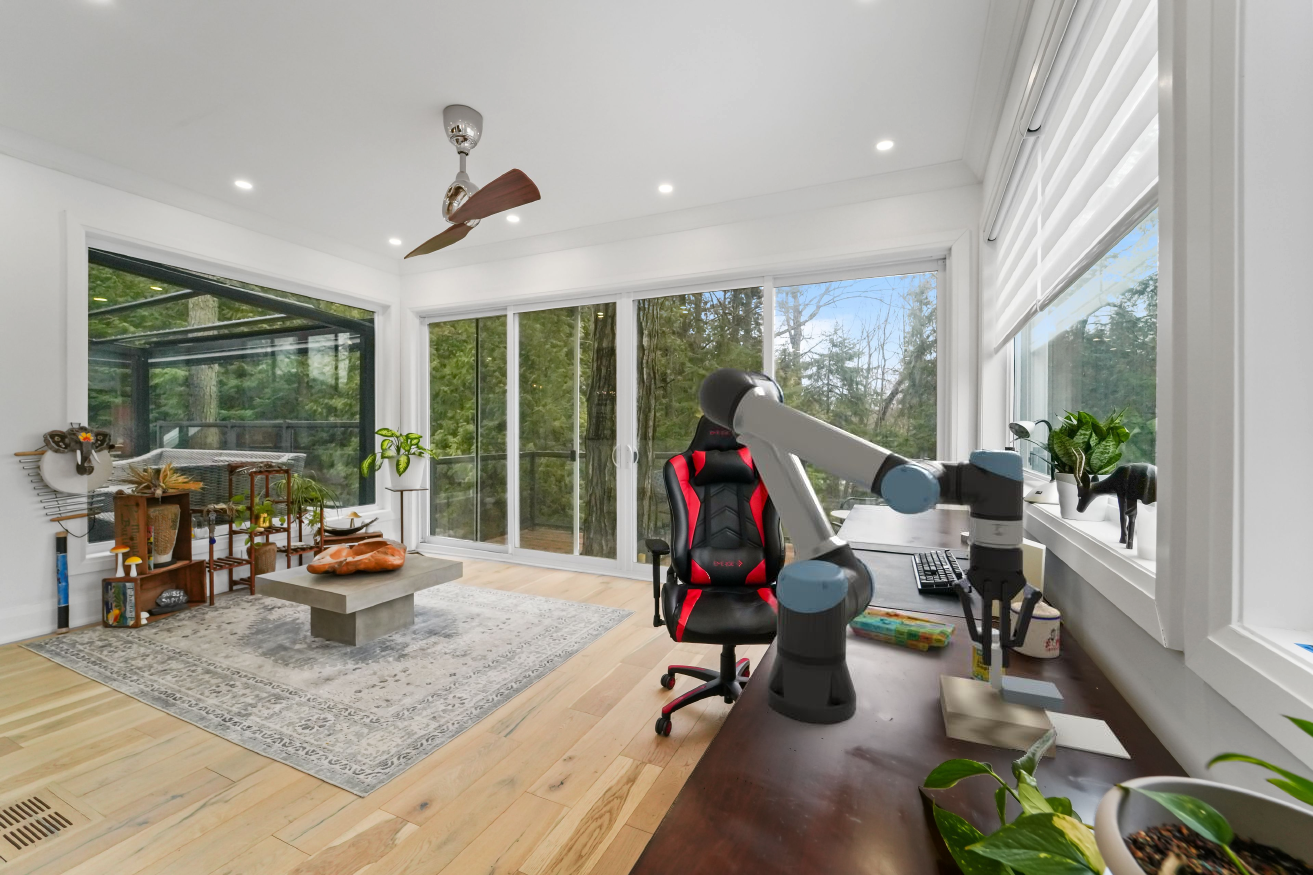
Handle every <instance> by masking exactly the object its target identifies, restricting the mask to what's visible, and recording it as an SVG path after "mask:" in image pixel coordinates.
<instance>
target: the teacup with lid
mask: <svg viewBox="0 0 1313 875" xmlns="http://www.w3.org/2000/svg"><path fill="white" fill-rule="evenodd" d="M1022 602H1023V601H1021V602H1020V601H1019V602H1014V603H1011V609H1010V637H1012V635H1013V632H1014V628H1015V625H1016V622H1017V618H1018V615H1019V612H1020V608H1021V605H1022ZM1061 618H1062V615H1061V612H1060V611H1059V610H1058V609H1057V608H1054V607H1052V606H1049V605H1048V604H1046V603H1045V602H1043V601H1042V598H1041V599H1040V600H1039V601H1038V603H1037V604H1036V605H1035V608H1034V611H1033V614H1032V618H1031V621H1030V624H1029V627H1028V631H1027V634H1026V637H1025V641H1024V644H1023V646H1022V647H1020V648H1019V647H1014V648H1012V649H1013V650H1014V651H1016V652H1017V653H1021V654H1023V655H1025V656H1030V657H1034V658H1040V659H1053V658H1057V657H1058V656H1059V655H1060V619H1061Z"/></svg>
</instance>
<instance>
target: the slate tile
mask: <svg viewBox="0 0 1313 875" xmlns="http://www.w3.org/2000/svg"><path fill="white" fill-rule="evenodd" d="M999 692H1000V694H1001V697H1002V699H1003V702H1009V703H1015V704H1020V705H1026V706H1032V707H1038V708H1044V710H1048V711H1049V710H1051V711H1055V712H1056V711H1057V712H1060V713H1061V712H1063V713H1064V711H1065V709H1064V708H1065V705H1064V704H1065V699H1064V697H1063V695H1062V694H1061V692H1060V691H1059V689H1058V688H1057V686H1056V685H1055V683H1054V682H1051V681H1050V682H1049V681H1045V680H1043V681H1042V680H1038V679H1037V680H1036V679H1031V678H1023V677H1020V676H1019V677H1018V676H1013V675H1012V676H1011V675H1006V674H1005V675H1002V690H999Z"/></svg>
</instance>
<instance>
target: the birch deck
mask: <svg viewBox="0 0 1313 875" xmlns="http://www.w3.org/2000/svg"><path fill="white" fill-rule="evenodd" d="M939 699H940V705H941V711H942V716H943V722H944V727H945V733H946V738H950V739H951V738H953V739H956V740H957V739H958V740H963V741H967V742H971V743H978V744H983V745H987V746H993V747H996V748H997V747H998V748H1003V749H1008V750H1012V749H1021V750H1025V752H1024V753H1027V751H1028V750H1029V749H1030V748H1031V747H1032V746H1033V745H1034V744H1035V743H1036V742H1037V741H1038V740H1039V739H1041V738H1042V737H1043V735H1045V734H1046V733H1047V732H1048V731H1049V730H1051V729H1054V730H1055V728H1054V727H1053V725H1052V723H1051V721H1050V719H1049V717H1048V716H1047V714H1046V712H1045V711H1046V709H1044V708H1038V707H1032V706H1026V705H1020V704H1015V703H1009V702H1003V699H1002V697H1001V694H1000V692H999V689H993V688H991V685H990V683H989V682H984V681H977V680H975V679H970V678H964V677H958V676H957V677H956V676H951V675H945V674H939ZM1055 732H1056V730H1055ZM1056 746H1057V745H1056V739H1055V741H1054V742H1053V744H1052V745H1051V746H1050V747H1049V748H1048V749H1047V750H1046V752H1045V753H1044V755H1043V757H1047V758H1052V759H1053V758H1054V759H1056Z"/></svg>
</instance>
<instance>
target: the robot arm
mask: <svg viewBox="0 0 1313 875" xmlns="http://www.w3.org/2000/svg"><path fill="white" fill-rule="evenodd" d="M698 404H699V408H700V409H701V411H702V412H701V413H703V415H704V416H705V418H707V419H708V420H709V421H710V422H713V423H714V424H717V425H718V426H721V427H723V428H724V429H725V428H726V429H727V430H730V431H731V432H732V434H733V436H734V438H735V441H736V442H737V443H738V444H741V445H744V446H745V447H747V450H748V452H749V454H750V457H751V458H752V460H753V463H754V465H755V467H756V469H757V471H758V473H759V475H760V478H761V480H762V482H763V485H764V487H765V489H766V490H767V493H768V495H769V497H770V499H771V501H772V504H773V506H774V508H775V511H776V513H777V514H778V517H779V518H780V522H781V524H782V525H783V528H784V530H785V531H786V534H787V536H788V539H789V540H790V543H791V546H792V547H793V549H794V552H795V554H794V555H795V556H794V559H793V561H792V562H791V563H789V564H787V565H785V566H783V567H782V568H781V570H780V571H779V573H778V576H777V585H776V589H775V591H776V592H775V593H776V654H775V657H774V661H773V663H772V666H771V669H770V672H769V675H768V678H767V681H766V687H765V688H766V689H765V690H766V694H765V696H766V697H765V698H766V701H767V702H768V705H770V706H771V707H772V708H773V709H774V710H776V711H777V712H779V713H780V714H782V715H784V716H786V717H789V718H792V719H795V720H798V721H803V722H807V723H815V724H830V723H831V724H832V723H839V722H842V721H845V720H848V719H849V718H851V717H852V716H854V714H855V713H856V711H857V693H856V688H855V686H854V682H853V679H852V677H851V673H850V671H849V670H850V669H849V666H848V664H847V626H849V623H851V622H852V621H853V620H854V619H855V618H856V617H858V616H860V615H861V614H862V613H863V612H864V611H865V610H866V609H867V608H868V607H870V604H871V602H872V601H873V598H874V597H875V590H876V586H875V584H876V583H875V578H874V576H873V572H872V571H871V568H870V567H869V566H868V564H867V563H865V561H863V560H862V559H861V558H859V557H858V556H856V555H855V553H854V552H853V550H852V547H851V546H850V543H849V541H847V540H845V539H843V538H840V537H839V536H837V534H836V532H835V531H834V528H833V526H832V524H831V523H830V520H829V518H828V516H827V514H826V511H825V510H824V508H823V506H822V503H821V501H820V499H819V497H818V494H816V491H815V490H814V487H813V485H812V483H811V481H810V479H809V476H808V474H807V473H806V471H805V469H804V466H803V464H802V462H801V460H803V461H805V462H807V463H810V464H811V465H814V466H815V467H817V468H819V469H821V470H823V471H824V472H825V471H826V472H827V473H830V474H832V475H834V476H836V477H838V478H839V479H842V480H843V481H846V482H848V483H850V484H852V485H854V486H856V487H858V488H861V489H862V490H864V491H866V492H869V493H871V494H873V495H875V496H876V497H878V498H880V499H882V500H883V501H884V502H885V504H886V505H887V506H888V507H889V508H890V509H891V510H893V511H895V512H896V513H899V514H901V515H902V514H903V515H918V514H922V513H925V512H928V511H929V510H931V509H932V508H933V507H934V506H936V505H948V506H949V505H952V506H954V505H955V506H960V507H961V506H962V507H963V506H969V510H970V511H969V538H970V540H971V541H972V542H971V543H970V544H969V568H968V570H967V572H966V574H965V575H966V576H964V577H963V578H961V579H959V580H957V579H955V580H952V582H951V585H952V587H953V590H954V591H955V592H956V594H957V595H958V597H959V600H960V603H961V608H962V611H963V614H964V618H965V622H966V628H967V630H968V634H969V636H970V639H971V641H972V642H973V641H974V642H978V643H980V644H981V645H982V661H983V663H984V665H985V666H989V683H990V685H991V688H993V689H999V690H1002V668H1005V669H1006V670H1007V669H1009V668H1010V666H1011V665H1010V660H1011V659H1010V658H1011V657H1010V651H1011V650H1012V649H1013V648H1014V647H1019V648H1020V647H1022V646H1023V644H1024V641H1025V637H1026V634H1027V631H1028V627H1029V624H1030V621H1031V618H1032V614H1033V611H1034V608H1035V605H1036V604H1037V603H1038V601H1039V600H1040V599H1041V600H1042V598H1043V597H1044V596H1043V595H1044V594H1043V592H1042V591H1041V590H1040V589H1039V588H1038V587H1036V586H1032V585H1031V584H1030V583H1028V580H1027V578H1026V577H1025V575H1024V550H1023V548H1022V547H1021V546H1020V545H1021V544H1023V543H1024V525H1023V524H1024V520H1023V519H1024V482H1025V481H1024V469H1023V468H1024V467H1023V457H1022V455H1021V454H1020V453H1019V452H1017V451H1014V450H999V449H997V450H994V449H993V450H991V449H990V450H985V449H980V450H977V449H976V450H972V451H971V452H970V453H969V458H968V461H967V460H965V461H945V460H942V461H941V460H923V459H909V458H907V457H905V456H902V455H899V454H897V453H895V452H893V451H891V450H889V449H886V448H884V447H882V446H880V445H878V444H875V443H872V442H870V441H869V440H866V439H864V438H861V437H859V436H857V435H854V434H852V433H850V432H847V431H846V430H843V429H841V428H839V427H837V426H834V425H833V424H830V423H828V422H825V421H823V420H820V419H818V418H816V417H814V416H811V414H810V415H809V414H807V413H805V412H803V411H800V410H798V409H796V408H793V407H791V406H790V405H787V404H785V397H784V393H783V390H782V388H781V387H780V385H779V383H778V382H777V381H776V380H775V379H774V378H772V377H771V376H768V375H767V374H765V373H763V372H760V371H755V370H754V371H753V370H751V371H750V370H749V371H748V370H743V369H739V368H735V367H722V368H719V369H715V370H713V371H712V372H710V373H709V374H708V375H707V376H705V378H704V379H703V381H702V383H701V384H700V387H699V390H698ZM800 459H801V460H800ZM969 585H971V586H972V587H973V589H974V590H975V591H976V593H977V594H978V596H979V597H980V600H981V626H980V627H981V634H980V633H978V631H977V628H978V627H977V625H976V624H977V623H976V620H975V616H974V614H973V610H972V605H971V602H970V598H969V596H968V594H967V593H969V592H970V587H969ZM1022 590H1023V591H1022ZM1021 591H1022V596H1023V600H1022V601H1021V602H1022V605H1021V608H1020V612H1019V615H1018V618H1017V622H1016V625H1015V628H1014V632H1013V635H1012V637H1011V610H1010V609H1011V605H1012V600H1014V599H1015V598H1016V597H1017V595H1018V594H1019V593H1021ZM993 601H998V614H999V615H998V631H999V642H1000V645H999V644H993V643H992V628H993V606H994V605H993Z"/></svg>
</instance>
